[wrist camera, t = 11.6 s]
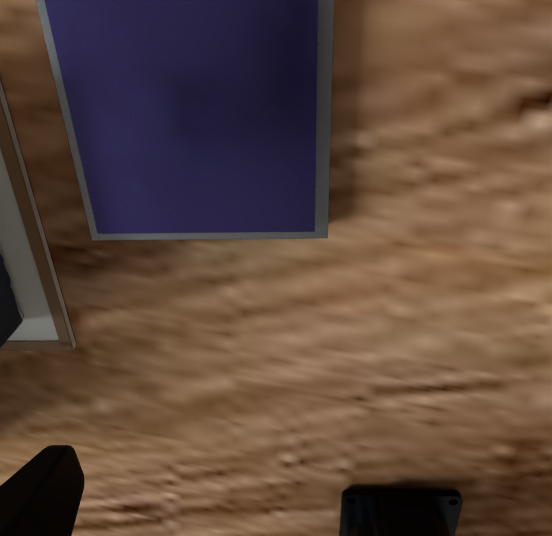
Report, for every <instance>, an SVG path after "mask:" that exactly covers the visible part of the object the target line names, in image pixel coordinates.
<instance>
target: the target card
mask: <svg viewBox="0 0 552 536" xmlns="http://www.w3.org/2000/svg"><path fill="white" fill-rule="evenodd" d="M0 254H1V256H2V257H3V260H4V265H5V268H6V271H7V272H8V274H9V276H10V279H11V285H10V286H11V288H12V290H13V294H14V296H15V301H16V303H18V304H19V306H20V310H21V311H22V313H23V316H24V319H23V322H22V323H21V324H20V325H19V327H18V328H17V330H16V331H15V332H14V333H13V334H12V335H11V336H10V337H9V338H8V340H7V341H6V342H5V343H4V345H3V346H2V347H1V348H0V350H44V351H73V349H74V348H75V346H76V343H75V339H74V336H73V332H72V329H71V325H70V322H69V318H68V315H67V311H66V308H65V304H64V301H63V297H62V294H61V290H60V287H59V283H58V280H57V276H56V273H55V269H54V266H53V262H52V259H51V255H50V252H49V248H48V245H47V241H46V238H45V234H44V231H43V227H42V224H41V220H40V217H39V214H38V210H37V207H36V203H35V200H34V196H33V193H32V189H31V186H30V182H29V179H28V175H27V172H26V168H25V165H24V161H23V158H22V154H21V151H20V147H19V144H18V140H17V137H16V133H15V130H14V126H13V123H12V119H11V116H10V112H9V109H8V105H7V102H6V98H5V95H4V91H3V88H2V84H1V81H0Z"/></svg>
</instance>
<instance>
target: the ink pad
mask: <svg viewBox="0 0 552 536" xmlns="http://www.w3.org/2000/svg"><path fill="white" fill-rule="evenodd" d="M36 4H37V8H38V13H39V17H40V21H41V25H42V30H43V34H44V38H45V42H46V47H47V51H48V55H49V59H50V64H51V68H52V72H53V76H54V81H55V85H56V89H57V93H58V98H59V102H60V106H61V110H62V115H63V119H64V123H65V127H66V132H67V136H68V140H69V144H70V149H71V153H72V157H73V161H74V166H75V170H76V174H77V178H78V183H79V187H80V191H81V195H82V200H83V204H84V208H85V212H86V217H87V221H88V225H89V229H90V234H91V238H92V240H183V239H296V238H328V205H329V169H330V133H331V98H332V62H333V26H334V0H36Z"/></svg>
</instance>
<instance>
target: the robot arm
mask: <svg viewBox="0 0 552 536" xmlns="http://www.w3.org/2000/svg"><path fill="white" fill-rule="evenodd" d="M83 489H84V474H83V471H82V468H81V466H80V463H79V460H78V458H77V455H76V452H75V450H74V448H73V447H72V446H70V445H51V446H48V447H46V448H45V449H43V450H42V451H41V452H40V453H38V454H37V455H36V456H35V457H34V458H33V459H31V460H30V461H29V462H28V463H27V464H26V465H24V466H23V467H22V468H21V469H20V470H19V471H17V472H16V473H15V474H14V475H13V476H12V477H10V478H9V479H8V480H7V481H6V482H5V483H3V484H2V485H1V486H0V536H71V535H72V531H73V527H74V524H75V520H76V516H77V512H78V508H79V505H80V501H81V497H82V493H83ZM462 503H463V500H462V497H461V494H460V493H459V492H458V491H456V490H425V489H352V488H351V489H346V490H344V491H343V492H342V498H341V515H340V531H339V536H454V535H455V531H456V527H457V523H458V519H459V515H460V511H461V507H462Z"/></svg>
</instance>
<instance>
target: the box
mask: <svg viewBox="0 0 552 536" xmlns="http://www.w3.org/2000/svg"><path fill="white" fill-rule="evenodd" d="M10 285H11V279H10V276H9V274H8V272H7V271H6V268H5V265H4V260H3V257H2V256H1V254H0V348H1V347H2V346H3V345H4V343H5V342H6V341H7V340H8V338H9V337H10V336H11V335H12V334H13V333H14V332H15V331H16V330H17V328H18V327H19V325H20V324H21V323H22V322H23V319H24V316H23V313H22V311H21V310H20V306H19V304H18V303H16V301H15V296H14V294H13V290H12V288H11V286H10Z"/></svg>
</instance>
